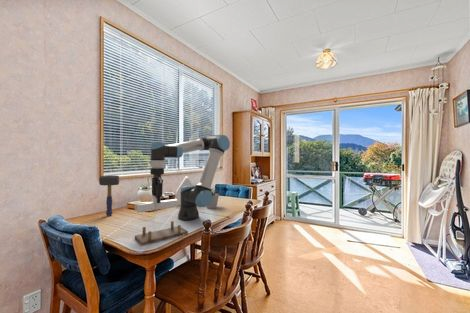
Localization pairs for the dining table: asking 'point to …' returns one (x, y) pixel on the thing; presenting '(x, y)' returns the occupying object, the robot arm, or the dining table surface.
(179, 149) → the robot arm
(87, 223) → the dining table surface
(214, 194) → the potted plant
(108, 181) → the rubber mallet
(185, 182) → the milk carton
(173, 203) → the grey long bar
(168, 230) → the tool rack
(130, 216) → the dining table surface
